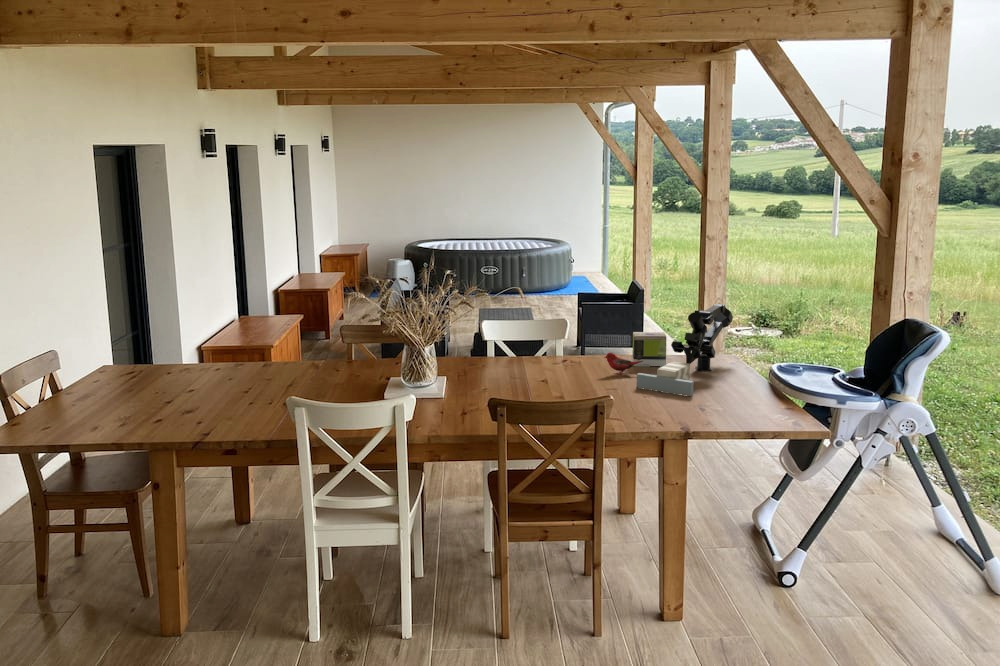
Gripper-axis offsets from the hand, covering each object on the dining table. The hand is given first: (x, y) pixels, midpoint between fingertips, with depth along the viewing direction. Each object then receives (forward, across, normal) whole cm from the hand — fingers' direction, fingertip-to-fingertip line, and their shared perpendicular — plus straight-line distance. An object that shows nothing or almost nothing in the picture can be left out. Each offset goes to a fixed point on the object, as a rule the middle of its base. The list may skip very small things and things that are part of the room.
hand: (687, 365), depth 381 cm
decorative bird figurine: (+10, -27, -1) cm, 29 cm away
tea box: (-6, -25, +15) cm, 30 cm away
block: (+15, 0, -6) cm, 16 cm away
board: (+21, 0, -13) cm, 25 cm away
